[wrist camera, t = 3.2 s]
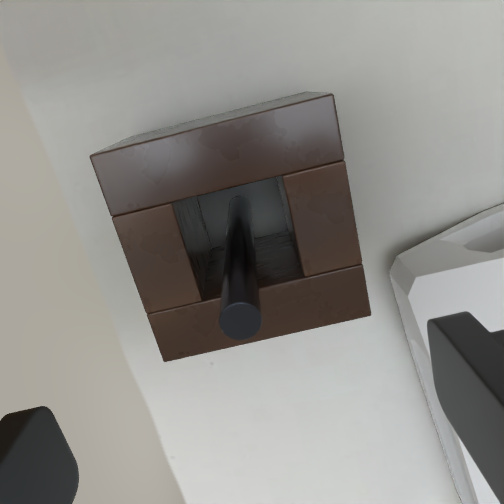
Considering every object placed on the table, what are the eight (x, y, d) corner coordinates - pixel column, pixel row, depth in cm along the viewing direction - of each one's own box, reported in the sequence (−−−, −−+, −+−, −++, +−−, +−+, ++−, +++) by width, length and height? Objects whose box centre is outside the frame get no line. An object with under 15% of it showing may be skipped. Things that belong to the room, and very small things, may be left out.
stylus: (225, 201, 26) (209, 320, 13) (241, 187, 25) (242, 294, 12) (238, 216, 26) (238, 348, 13) (254, 203, 26) (270, 324, 13)
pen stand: (129, 137, 24) (88, 155, 18) (307, 91, 24) (333, 92, 17) (181, 297, 28) (163, 362, 21) (339, 260, 27) (371, 316, 21)
